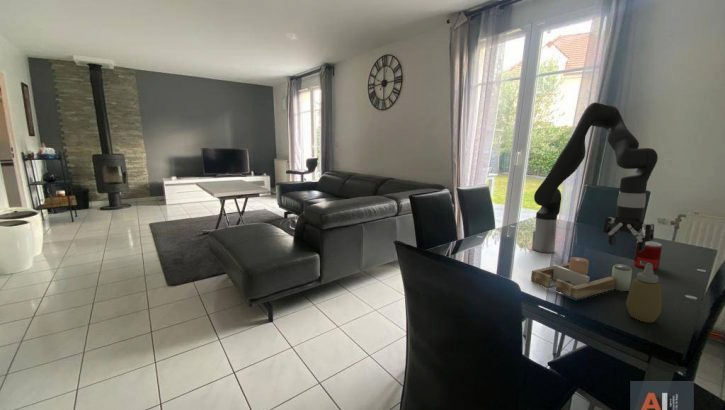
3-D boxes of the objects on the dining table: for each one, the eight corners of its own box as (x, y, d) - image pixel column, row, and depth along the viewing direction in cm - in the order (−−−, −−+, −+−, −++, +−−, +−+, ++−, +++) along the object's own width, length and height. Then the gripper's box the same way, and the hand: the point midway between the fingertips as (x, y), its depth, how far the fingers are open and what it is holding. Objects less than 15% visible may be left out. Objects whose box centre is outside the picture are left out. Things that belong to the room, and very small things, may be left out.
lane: (531, 281, 121) (531, 269, 120) (567, 272, 128) (568, 261, 127) (575, 301, 105) (577, 288, 104) (614, 289, 112) (616, 277, 111)
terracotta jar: (564, 282, 119) (566, 258, 118) (574, 279, 121) (576, 256, 120) (579, 288, 114) (581, 263, 112) (589, 285, 116) (592, 261, 114)
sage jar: (606, 286, 114) (609, 265, 113) (616, 284, 116) (618, 262, 115) (623, 292, 109) (626, 270, 108) (632, 290, 111) (636, 267, 110)
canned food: (663, 270, 126) (667, 246, 124) (641, 269, 128) (644, 245, 126) (650, 263, 134) (653, 240, 132) (629, 263, 135) (632, 240, 133)
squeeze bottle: (617, 312, 97) (624, 259, 94) (640, 310, 98) (648, 258, 95) (642, 326, 89) (651, 269, 86) (667, 324, 90) (676, 268, 87)
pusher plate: (530, 284, 118) (532, 270, 117) (554, 278, 122) (556, 264, 121) (562, 299, 106) (564, 283, 105) (588, 292, 110) (589, 276, 109)
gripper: (662, 207, 102) (655, 252, 105) (615, 201, 115) (610, 241, 118) (648, 209, 99) (642, 255, 102) (602, 202, 112) (597, 244, 115)
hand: (625, 248), depth 110 cm, fingers open, 8 cm apart
